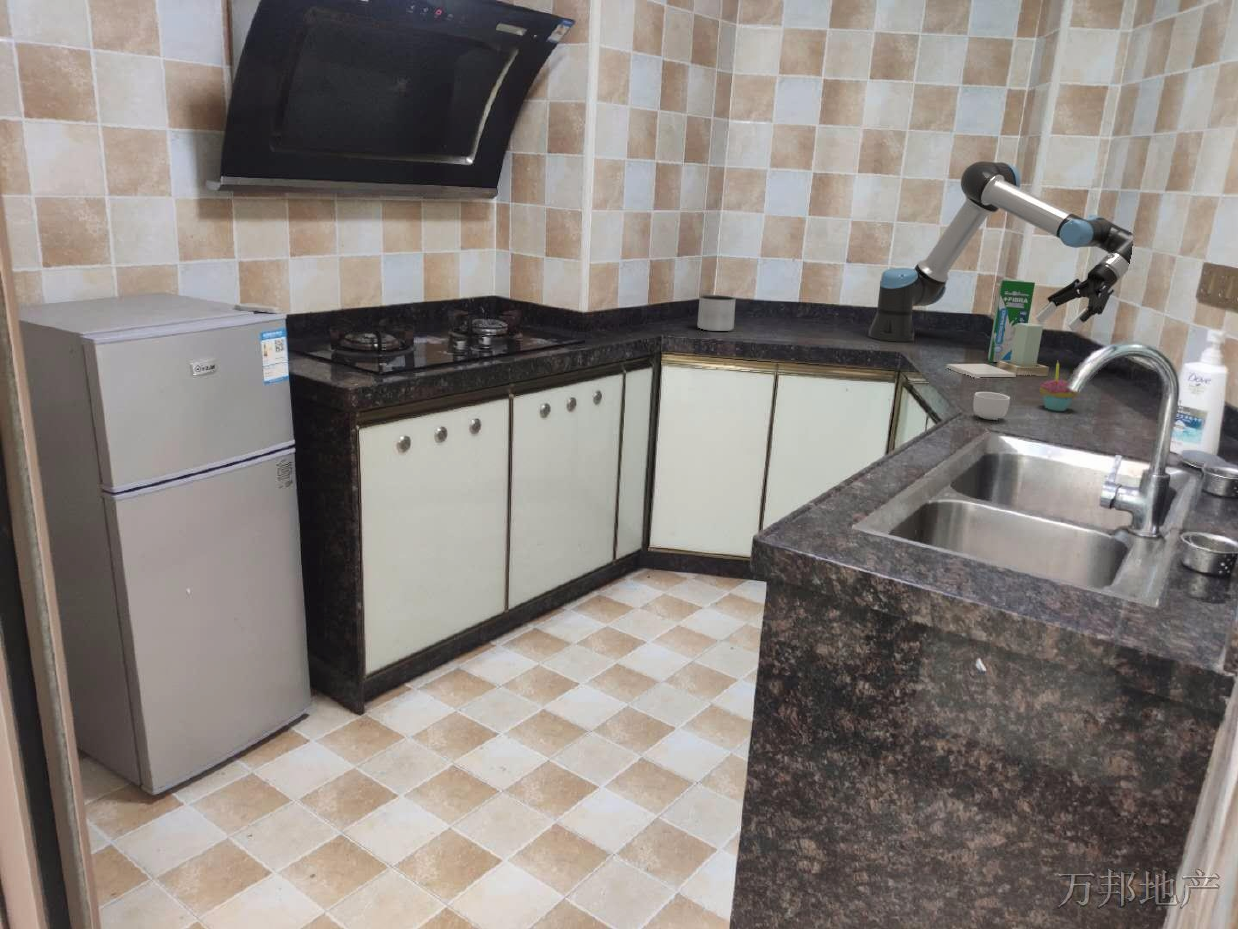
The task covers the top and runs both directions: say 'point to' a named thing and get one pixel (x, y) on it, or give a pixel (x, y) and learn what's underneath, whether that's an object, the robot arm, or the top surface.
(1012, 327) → the milk carton
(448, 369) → the top surface
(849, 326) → the top surface
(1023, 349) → the post
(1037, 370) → the holder
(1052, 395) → the cupcake
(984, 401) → the teacup
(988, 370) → the trivet
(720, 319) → the planter
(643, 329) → the top surface
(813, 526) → the top surface
